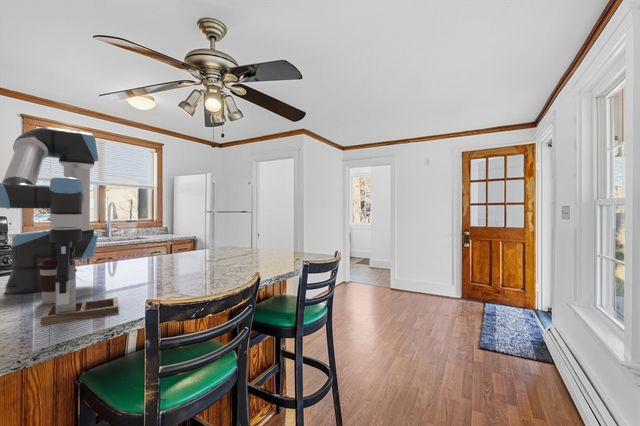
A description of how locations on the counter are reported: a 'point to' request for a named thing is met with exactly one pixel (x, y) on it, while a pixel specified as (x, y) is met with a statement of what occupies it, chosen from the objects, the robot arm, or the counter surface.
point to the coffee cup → (48, 279)
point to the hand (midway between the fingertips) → (65, 298)
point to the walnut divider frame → (81, 311)
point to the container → (72, 294)
